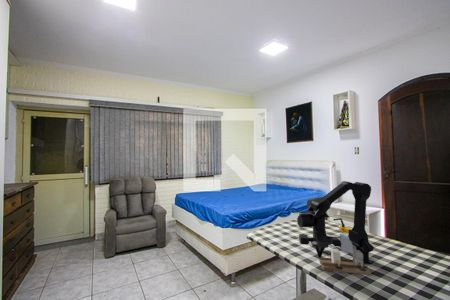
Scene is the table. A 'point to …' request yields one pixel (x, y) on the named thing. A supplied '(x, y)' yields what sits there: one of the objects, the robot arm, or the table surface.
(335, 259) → the slider
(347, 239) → the medicine box
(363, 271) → the wooden peg rack
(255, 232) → the table surface
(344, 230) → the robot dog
